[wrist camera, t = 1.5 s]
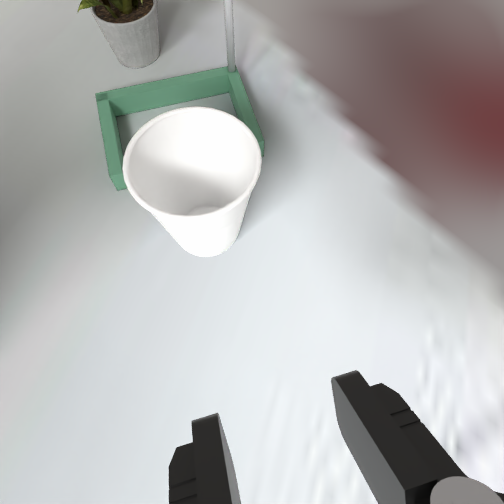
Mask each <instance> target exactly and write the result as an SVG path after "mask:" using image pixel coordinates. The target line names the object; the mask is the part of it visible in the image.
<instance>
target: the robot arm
mask: <svg viewBox="0 0 504 504" xmlns="http://www.w3.org/2000/svg"><path fill="white" fill-rule="evenodd" d="M331 383H332V390H333V396H334V403H335V409H336V416H337V421H338V425H339V428H340V431H341V433H342V436H343V438H344V440H345V442H346V444H347V446H348V448H349V450H350V452H351V454H352V455H353V457H354V459H355V461H356V463H357V465H358V467H359V468H360V470H361V472H362V474H363V476H364V478H365V480H366V482H367V483H368V485H369V487H370V489H371V491H372V493H373V495H374V496H375V498H376V500H377V502H378V504H504V494H502V493H498V492H495V491H493V490H492V489H490V488H489V487H488V486H486V485H484V484H483V483H481V482H479V481H477V480H474V479H471V478H469V477H467V476H466V475H465V474H464V473H463V472H462V471H461V469H460V468H459V467H458V466H457V465H456V463H455V462H454V461H453V460H452V458H451V457H450V456H449V455H448V454H447V452H446V451H445V450H444V449H443V447H442V446H441V445H440V444H439V442H438V441H437V440H436V439H435V438H434V436H433V435H432V434H431V433H430V431H429V430H428V429H427V428H426V427H425V425H424V424H423V423H421V422H420V419H419V418H418V417H417V415H416V414H415V413H414V412H413V411H411V409H410V407H409V406H408V404H407V403H406V402H405V401H404V400H403V398H402V397H401V396H400V395H399V393H397V392H396V391H394V390H392V389H391V388H389V387H387V386H386V385H384V384H382V383H380V384H376V385H373V386H369V385H368V383H367V382H366V381H365V379H364V378H363V376H362V375H361V374H360V373H359V372H358V371H357V370H355V371H352V372H349V373H346V374H342V375H339V376H336V377H333V378H332V379H331ZM192 435H193V442H192V443H189V444H186V445H183V446H180V447H177V448H176V450H175V453H174V455H173V458H172V460H171V463H170V465H169V489H170V490H169V504H241V501H240V495H239V490H238V485H237V479H236V474H235V470H234V465H233V461H232V457H231V454H230V450H229V447H228V444H227V440H226V437H225V434H224V430H223V427H222V424H221V420H220V417H219V414H218V413H216V414H212V415H209V416H206V417H203V418H199V419H196V420H193V421H192Z"/></svg>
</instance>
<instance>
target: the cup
mask: <svg viewBox="0 0 504 504" xmlns="http://www.w3.org/2000/svg"><path fill="white" fill-rule="evenodd" d="M261 165H262V158H261V150H260V147H259V144H258V141H257V139H256V138H255V136H254V134H253V133H252V131H251V130H250V129H249V128H248V127H247V126H246V125H245V124H244V123H243V122H242V121H240V120H239V119H237V118H236V117H235V116H233V115H231V114H228V113H226V112H224V111H221V110H217V109H214V108H208V107H199V106H197V107H183V108H178V109H173V110H171V111H168V112H165V113H162V114H160V115H158V116H156V117H155V118H153V119H151V120H150V121H148V122H147V123H146V124H145V125H143V126H142V127H141V128H140V129H139V130H138V131H137V132H136V133H135V135H134V136H133V137H132V139H131V140H130V142H129V144H128V146H127V148H126V151H125V154H124V157H123V168H122V170H123V176H124V181H125V183H126V186H127V188H128V190H129V192H130V193H131V195H132V196H133V197H134V199H135V200H136V201H137V202H138V203H139V204H140V205H141V206H143V207H144V208H145V209H146V210H148V211H150V212H151V213H152V215H153V216H154V217H155V218H156V219H157V220H158V221H159V222H160V223H161V224H162V225H163V227H164V228H165V229H166V230H167V231H168V232H169V233H170V234H171V235H172V237H173V238H174V239H175V240H176V241H177V242H178V244H179V245H180V246H181V247H182V248H183V249H184V250H186V251H187V252H189V253H191V254H193V255H196V256H200V257H212V256H216V255H219V254H221V253H223V252H225V251H226V250H228V249H229V248H230V247H231V246H232V245H233V244H234V242H235V241H236V239H237V236H238V234H239V231H240V227H241V224H242V221H243V217H244V214H245V211H246V208H247V204H248V201H249V198H250V195H251V192H252V190H253V188H254V187H255V185H256V183H257V180H258V178H259V175H260V172H261Z"/></svg>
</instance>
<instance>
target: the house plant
mask: <svg viewBox="0 0 504 504" xmlns="http://www.w3.org/2000/svg"><path fill="white" fill-rule="evenodd" d="M89 7H90V10H91V13H92V15H93V16H94V18H95V20H96V22H97V23H98V25H99V27H100V29H101V30H102V32H103V34H104V36H105V38H106V39H107V41H108V43H109V45H110V46H111V48H112V50H113V52H114V53H115V55H116V57H117V59H118V60H119V62H120V63H121V64H123V65H124V66H127V67H130V68H142V67H146V66H148V65H150V64H151V63H153V62H154V61H155V60H156V59H157V58H158V56H159V52H160V48H159V31H158V15H157V0H82V1H81V3H80V6H79V9H78V11H79V10H80V9H85V8H89ZM77 13H78V12H77Z"/></svg>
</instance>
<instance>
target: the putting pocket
mask: <svg viewBox="0 0 504 504" xmlns="http://www.w3.org/2000/svg"><path fill="white" fill-rule="evenodd" d="M224 13H225V29H226V45H227V61H228V66H227V67H222V68H217V69H212V70H208V71H203V72H198V73H193V74H188V75H183V76H178V77H173V78H169V79H164V80H159V81H154V82H149V83H144V84H139V85H135V86H130V87H125V88H120V89H115V90H110V91H105V92H100V93H96V94H95V95H96V101H97V106H98V112H99V118H100V124H101V130H102V136H103V141H104V147H105V153H106V159H107V165H108V171H109V176H110V178H111V180H112V182H113V183H114V185H115V187H116V189H117V190H122V189H126V188H127V186H126V183H125V181H124V176H123V170H122V168H123V152H122V147H121V142H120V136H119V131H118V126H117V121H116V116H121V115H125V114H130V113H135V112H139V111H144V110H149V109H153V108H158V107H163V106H167V105H172V104H177V103H181V102H186V101H191V100H196V99H200V98H205V97H210V96H214V95H219V94H224V93H228V92H229V94H230V97H231V99H232V102H233V105H234V108H235V111H236V114H237V116H238V119H239V120H240V121H242V122H243V123H244V124H245V125H246V126H247V127H248V128H249V129H250V130H251V131H252V133H253V134H254V136H255V138H256V139H257V141H258V144H259V147H260V150H261V157H262V156H264V139H263V136H262V133H261V131H260V128H259V125H258V123H257V120H256V117H255V115H254V112H253V110H252V107H251V104H250V102H249V99H248V96H247V94H246V91H245V88H244V86H243V83H242V80H241V78H240V75H239V73H238V70H237V67H236V65H235V50H234V26H233V3H232V0H224Z"/></svg>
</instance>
